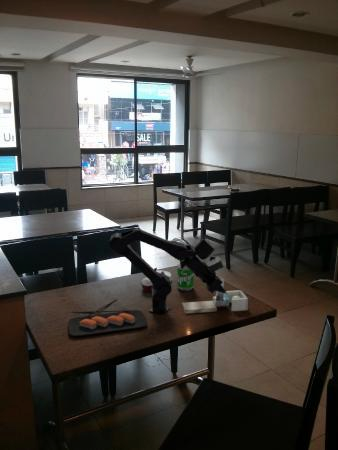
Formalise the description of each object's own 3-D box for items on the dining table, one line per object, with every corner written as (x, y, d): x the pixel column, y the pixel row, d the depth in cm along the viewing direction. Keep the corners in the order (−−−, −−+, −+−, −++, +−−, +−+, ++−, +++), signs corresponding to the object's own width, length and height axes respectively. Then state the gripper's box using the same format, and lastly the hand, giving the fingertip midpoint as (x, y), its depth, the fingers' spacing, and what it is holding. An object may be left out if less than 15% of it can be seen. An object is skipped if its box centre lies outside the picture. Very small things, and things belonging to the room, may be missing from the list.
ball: (235, 300, 166) (239, 309, 168) (241, 293, 169) (245, 302, 170) (227, 299, 170) (231, 308, 171) (233, 293, 172) (237, 301, 174)
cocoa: (139, 289, 190) (137, 264, 187) (151, 286, 192) (149, 262, 190) (147, 296, 181) (145, 270, 179) (160, 292, 184) (158, 267, 181)
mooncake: (148, 286, 193) (148, 278, 192) (145, 277, 205) (145, 270, 204) (173, 284, 195) (173, 276, 195) (168, 275, 207) (168, 268, 206)
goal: (232, 311, 166) (232, 299, 165) (225, 302, 174) (226, 291, 173) (247, 310, 167) (248, 298, 166) (240, 301, 175) (240, 290, 174)
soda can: (174, 286, 191) (174, 262, 188) (188, 284, 194) (189, 260, 192) (181, 292, 185) (182, 267, 182) (196, 289, 188) (196, 265, 185)
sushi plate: (69, 341, 145) (68, 331, 144) (66, 306, 173) (66, 297, 172) (149, 330, 152) (149, 320, 151) (134, 298, 180) (134, 290, 179)
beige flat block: (185, 313, 164) (185, 310, 164) (182, 306, 171) (182, 302, 170) (216, 311, 166) (216, 307, 165) (212, 304, 173) (212, 300, 172)
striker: (215, 306, 166) (216, 282, 163) (212, 300, 172) (212, 276, 169) (229, 305, 167) (230, 281, 164) (225, 299, 172) (225, 276, 170)
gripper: (217, 259, 154) (244, 284, 158) (205, 245, 172) (230, 268, 176) (197, 280, 155) (224, 305, 159) (187, 264, 173) (212, 287, 177)
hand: (223, 290), depth 168 cm, fingers closed on striker, 3 cm apart
